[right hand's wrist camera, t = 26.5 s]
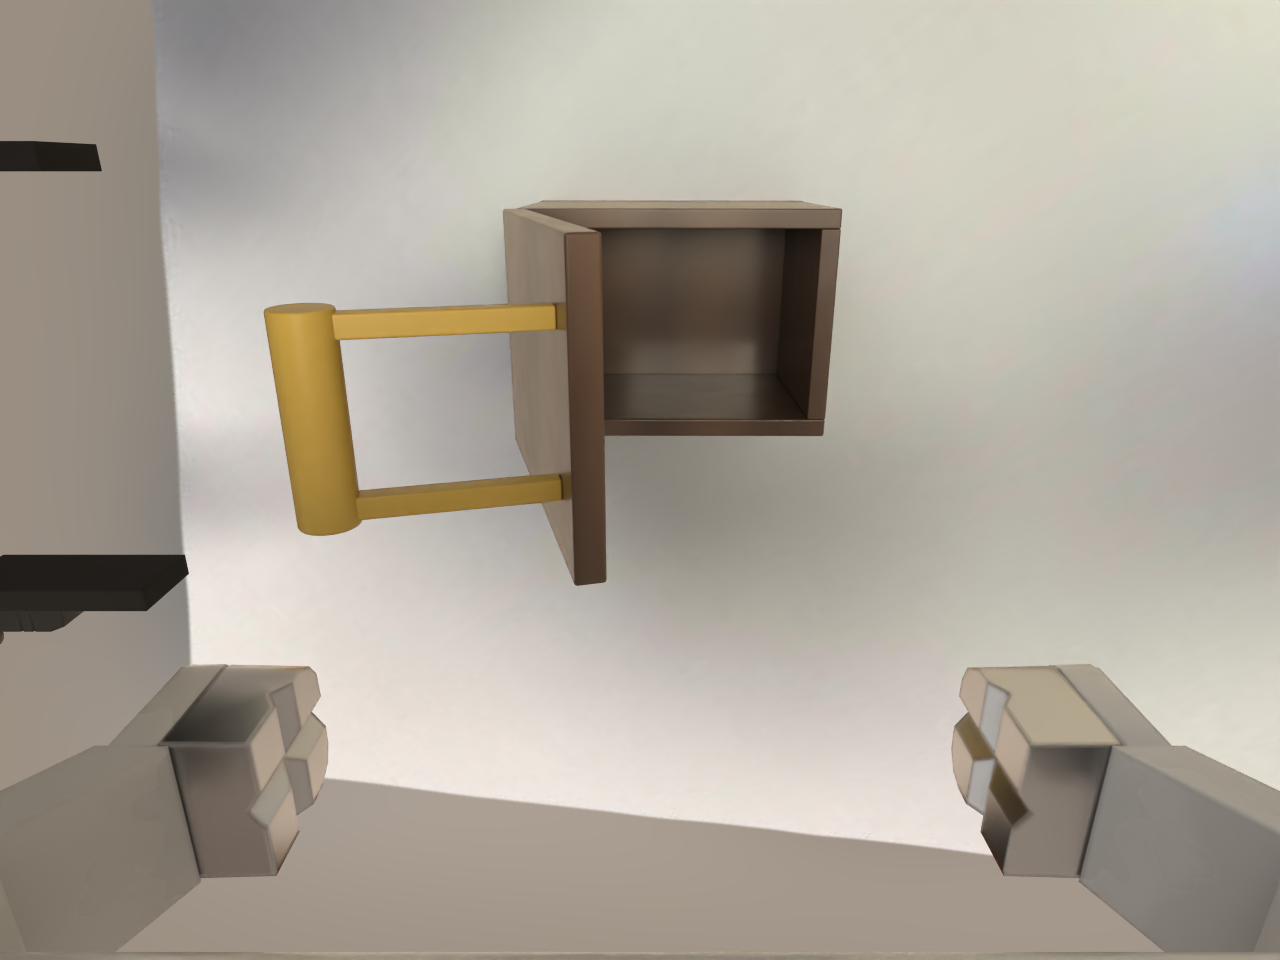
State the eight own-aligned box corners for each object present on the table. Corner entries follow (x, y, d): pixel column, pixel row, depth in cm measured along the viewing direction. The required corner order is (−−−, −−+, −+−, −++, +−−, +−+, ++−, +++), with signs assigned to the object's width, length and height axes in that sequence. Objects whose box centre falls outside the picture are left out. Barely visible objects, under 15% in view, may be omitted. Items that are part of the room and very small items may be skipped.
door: (602, 231, 21) (236, 237, 19) (607, 583, 24) (299, 620, 22) (526, 208, 34) (306, 210, 32) (536, 438, 38) (339, 453, 36)
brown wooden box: (800, 200, 44) (842, 208, 34) (788, 384, 47) (823, 436, 38) (542, 200, 44) (516, 207, 35) (549, 384, 47) (527, 436, 38)
